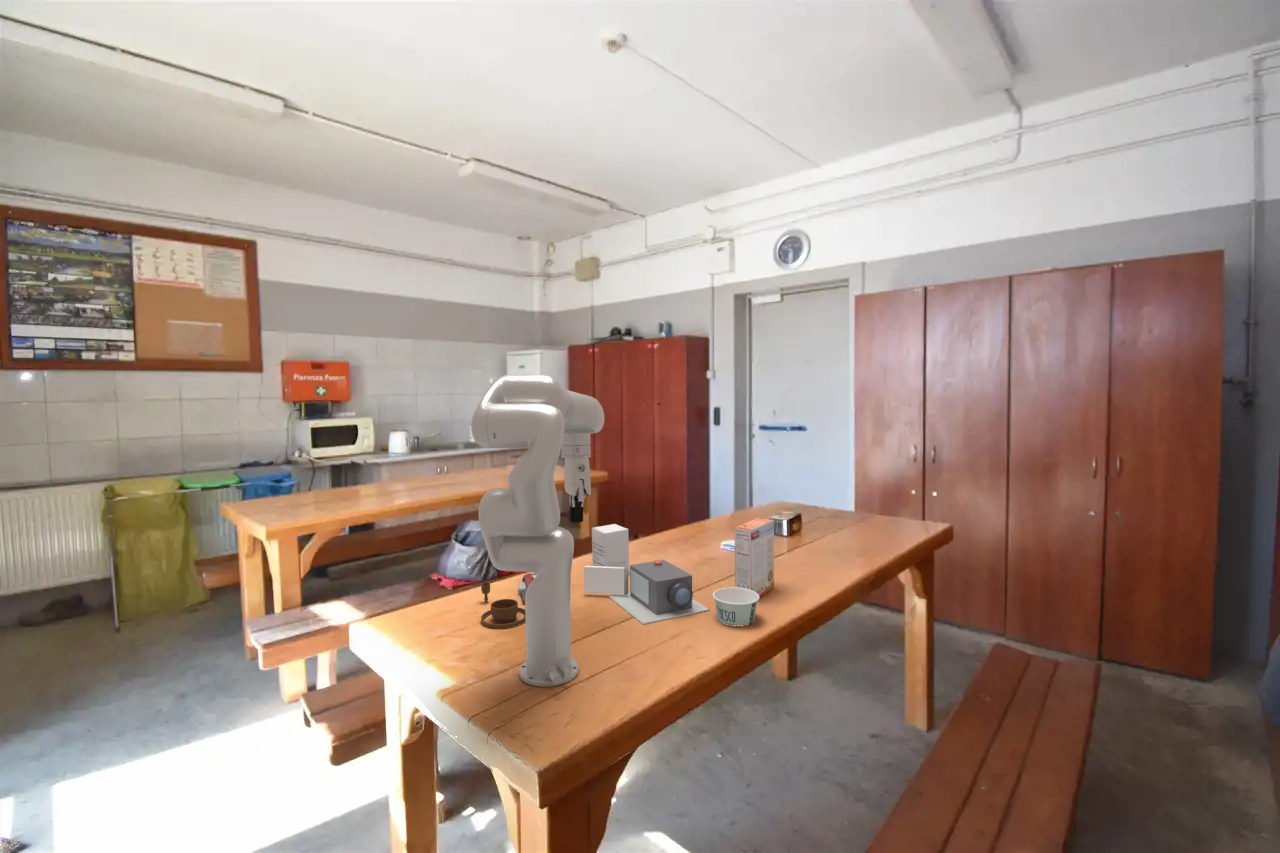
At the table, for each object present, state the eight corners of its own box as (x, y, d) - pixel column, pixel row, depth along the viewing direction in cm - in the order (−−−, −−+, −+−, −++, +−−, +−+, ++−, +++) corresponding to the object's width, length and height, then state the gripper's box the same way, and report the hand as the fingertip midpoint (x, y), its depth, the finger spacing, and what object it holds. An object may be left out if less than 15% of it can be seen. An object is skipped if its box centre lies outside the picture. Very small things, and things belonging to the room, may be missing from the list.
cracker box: (756, 584, 180) (757, 516, 179) (775, 588, 176) (775, 519, 175) (733, 597, 169) (733, 525, 168) (752, 602, 166) (752, 529, 164)
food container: (765, 616, 156) (765, 591, 156) (749, 632, 146) (749, 607, 145) (723, 607, 162) (723, 584, 162) (705, 623, 152) (705, 598, 152)
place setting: (464, 632, 148) (464, 609, 148) (480, 602, 168) (479, 582, 168) (535, 630, 150) (534, 607, 149) (542, 600, 170) (542, 580, 169)
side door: (584, 592, 171) (583, 567, 171) (585, 591, 173) (585, 565, 172) (627, 594, 169) (627, 568, 169) (628, 593, 171) (628, 567, 170)
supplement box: (615, 567, 198) (615, 523, 197) (629, 574, 190) (629, 528, 189) (591, 572, 193) (591, 527, 192) (605, 579, 185) (604, 532, 184)
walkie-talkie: (516, 583, 184) (520, 606, 165) (515, 569, 184) (520, 591, 164) (544, 580, 186) (552, 603, 167) (544, 566, 186) (552, 588, 167)
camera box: (709, 610, 160) (709, 573, 159) (643, 624, 151) (642, 585, 150) (669, 585, 180) (669, 552, 179) (608, 596, 171) (608, 562, 170)
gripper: (598, 453, 149) (598, 526, 149) (582, 449, 162) (582, 516, 163) (569, 454, 146) (569, 528, 146) (555, 450, 160) (555, 517, 160)
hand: (576, 521), depth 155 cm, fingers closed
